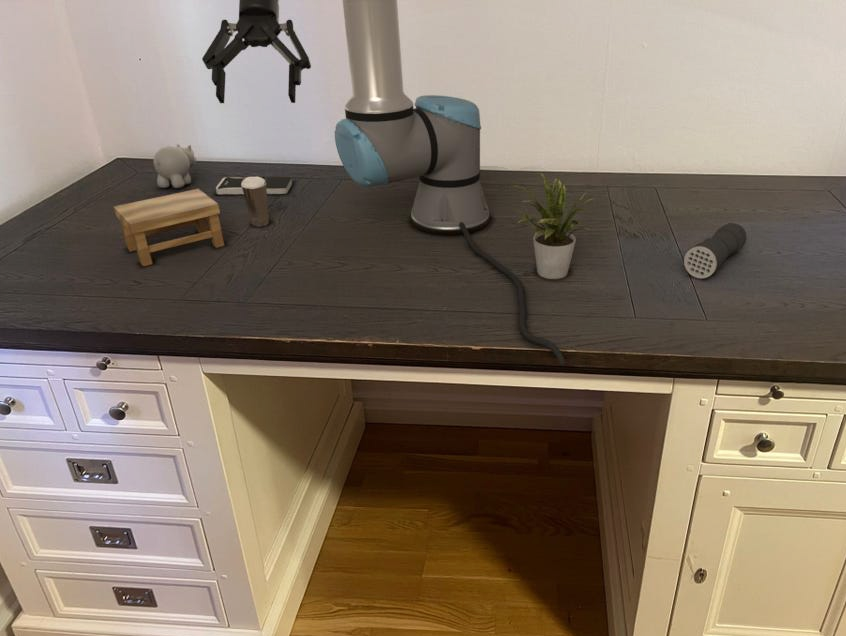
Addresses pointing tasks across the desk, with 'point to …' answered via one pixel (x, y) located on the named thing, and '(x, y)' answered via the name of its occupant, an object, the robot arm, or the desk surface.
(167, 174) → the round bodied animal figurine
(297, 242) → the desk surface
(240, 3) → the robot arm
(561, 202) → the house plant
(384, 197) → the desk surface
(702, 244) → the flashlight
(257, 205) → the milkshake
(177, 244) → the stool
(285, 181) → the smartphone
